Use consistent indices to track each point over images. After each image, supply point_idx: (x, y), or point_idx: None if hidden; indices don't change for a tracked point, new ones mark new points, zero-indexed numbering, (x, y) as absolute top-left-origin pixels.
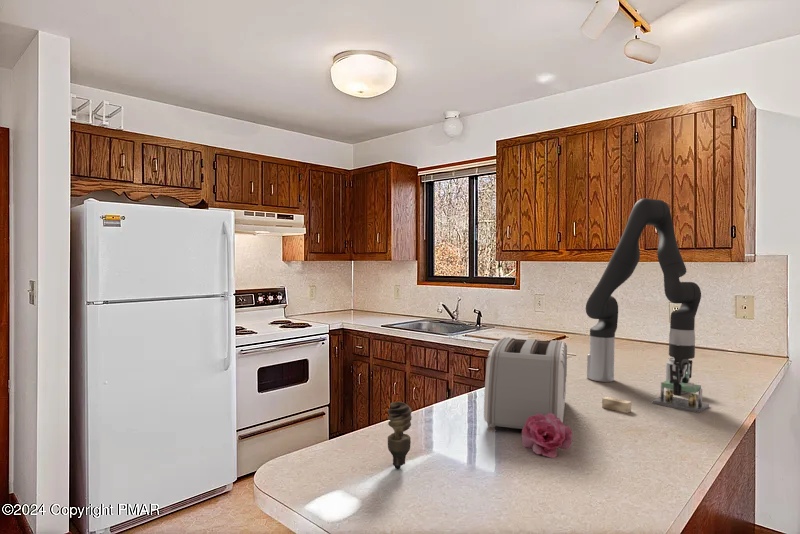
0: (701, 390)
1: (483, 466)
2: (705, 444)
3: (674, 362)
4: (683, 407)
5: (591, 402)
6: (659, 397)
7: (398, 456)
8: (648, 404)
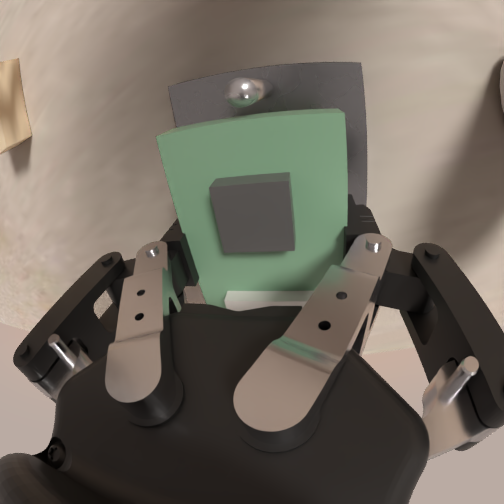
0: None
1: None
2: None
3: (56, 407)
4: None
5: (18, 15)
6: (271, 69)
7: None
8: (141, 89)
